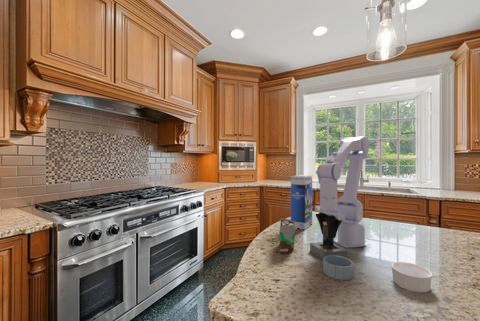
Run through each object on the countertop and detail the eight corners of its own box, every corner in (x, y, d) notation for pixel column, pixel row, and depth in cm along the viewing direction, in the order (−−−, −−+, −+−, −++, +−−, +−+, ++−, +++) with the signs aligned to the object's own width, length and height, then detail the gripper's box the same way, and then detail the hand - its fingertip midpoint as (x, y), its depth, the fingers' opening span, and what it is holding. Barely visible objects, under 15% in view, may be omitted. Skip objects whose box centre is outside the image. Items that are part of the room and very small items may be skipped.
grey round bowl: (340, 265, 73) (340, 254, 73) (359, 278, 65) (359, 265, 65) (317, 267, 71) (317, 256, 71) (334, 281, 63) (334, 268, 63)
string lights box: (304, 230, 109) (305, 176, 110) (289, 227, 114) (289, 175, 114) (312, 224, 121) (312, 175, 121) (298, 222, 125) (298, 174, 125)
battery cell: (329, 241, 83) (329, 219, 83) (335, 245, 79) (336, 222, 79) (320, 242, 82) (320, 220, 82) (326, 246, 78) (326, 222, 78)
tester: (331, 249, 86) (331, 240, 86) (348, 259, 77) (348, 249, 77) (310, 251, 84) (310, 242, 84) (324, 261, 75) (324, 251, 75)
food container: (297, 256, 79) (297, 227, 79) (279, 255, 80) (279, 226, 80) (296, 244, 91) (296, 218, 91) (280, 242, 92) (280, 218, 92)
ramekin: (435, 298, 55) (435, 280, 55) (391, 287, 60) (391, 271, 60) (429, 282, 63) (429, 266, 63) (390, 273, 67) (390, 259, 67)
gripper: (307, 194, 87) (307, 230, 87) (331, 201, 73) (331, 243, 72) (324, 194, 88) (324, 229, 88) (350, 200, 74) (350, 242, 74)
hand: (328, 235), depth 80 cm, fingers closed on battery cell, 4 cm apart
